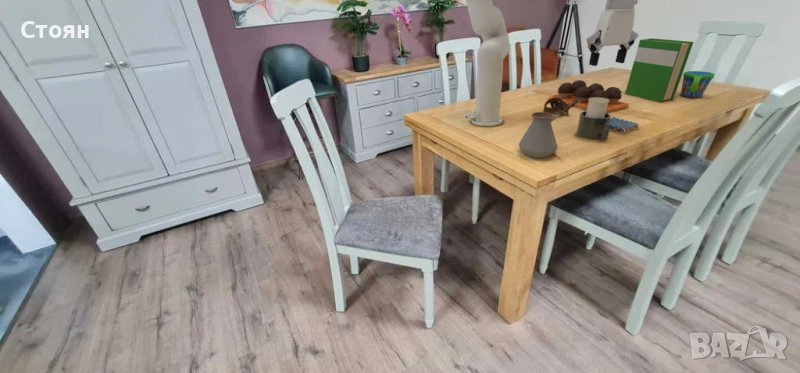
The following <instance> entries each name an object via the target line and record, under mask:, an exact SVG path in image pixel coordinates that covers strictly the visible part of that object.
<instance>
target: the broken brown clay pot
mask: <svg viewBox="0 0 800 373" xmlns="http://www.w3.org/2000/svg"><path fill="white" fill-rule="evenodd" d="M558 101H560V102H558ZM548 105H550V107H549V106H548ZM543 106H544V107H543V110H542V112H547V113H551V114H556V113H557V114H558V113H559V112H561V111H562V110H563V109H564V108H565V107H567V106H568V105H567V103H566V102H565V101H564V100H563V99H562V98H560V97H553V98H551V99H548V100H546V101H545V102H544V104H543ZM569 113H570V110H568V111H566V112H565V113H564V114H566V116H569Z"/></svg>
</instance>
